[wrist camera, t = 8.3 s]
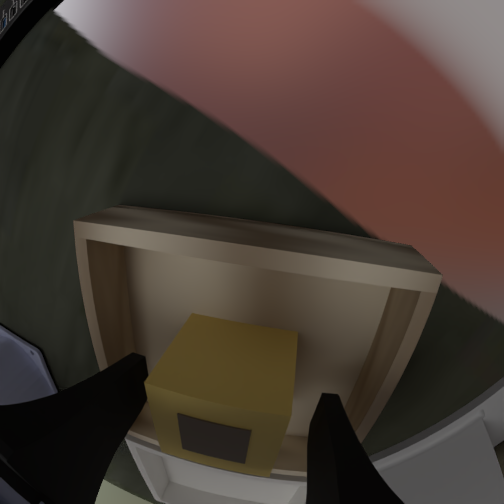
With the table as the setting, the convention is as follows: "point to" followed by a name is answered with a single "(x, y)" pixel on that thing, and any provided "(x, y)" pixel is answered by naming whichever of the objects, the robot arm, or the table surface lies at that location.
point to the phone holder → (451, 457)
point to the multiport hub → (20, 21)
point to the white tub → (210, 480)
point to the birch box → (258, 302)
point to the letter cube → (224, 394)
